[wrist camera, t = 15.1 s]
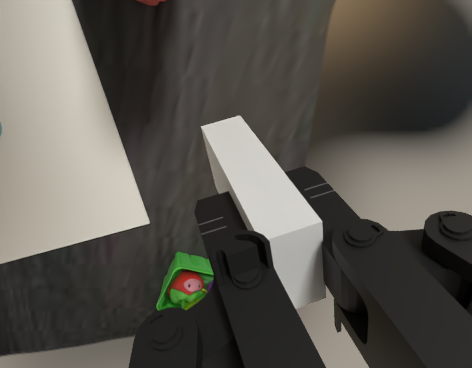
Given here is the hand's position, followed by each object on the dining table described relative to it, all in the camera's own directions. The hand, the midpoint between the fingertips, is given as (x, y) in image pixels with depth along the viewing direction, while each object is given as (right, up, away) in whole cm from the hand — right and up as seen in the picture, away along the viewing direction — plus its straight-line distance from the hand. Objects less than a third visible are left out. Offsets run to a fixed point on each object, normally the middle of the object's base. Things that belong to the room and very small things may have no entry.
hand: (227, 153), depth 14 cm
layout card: (-26, +2, +26) cm, 36 cm away
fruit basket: (-5, -14, +41) cm, 44 cm away
